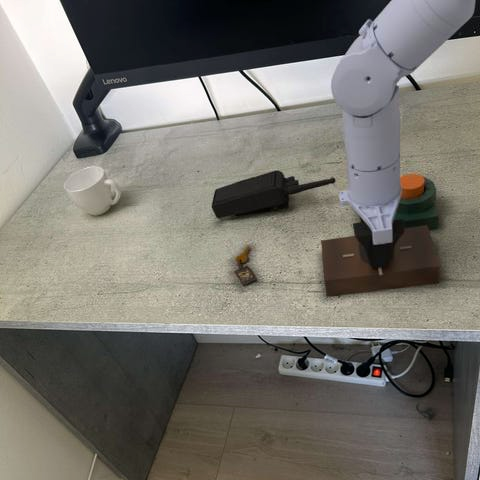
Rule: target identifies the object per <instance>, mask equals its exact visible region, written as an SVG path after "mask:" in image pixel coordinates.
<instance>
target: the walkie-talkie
mask: <svg viewBox="0 0 480 480" xmlns="http://www.w3.org/2000/svg"><path fill="white" fill-rule="evenodd" d="M335 183H336V178H335V177H330V178H326V179H321V180H316V181H312V182H307V183H301V184H300V183H299V180H298V179H296V178H295V176H294V175H292V176H287V177H286V176H285V174H284V172H283V171H280V170H279V169H278V170H272V171H269V172H266V173H262V174H259V175H256V176H252V177H249V178H245V179H242V180H240V181H236V182H233V183H230V184H227V185H224V186H221V187H218V188H216V189H215V190H214V191H213V192H214V193H213V197H212V202H211V209H212V212H213V214H214V215H215V218H216V219H223V218H226V217H228V218H229V217H232V216H234V217H235V218H237V217H238V218H239V217H246V216H253V215H260V214H261V215H262V214H267V213H273V212H277V211H283V210H286V209H289V207H290V196H293V195H296V194H299V193H302V192H305V191H308V190H313V189H316V188H320V187H325V186H329V185H333V184H335Z"/></svg>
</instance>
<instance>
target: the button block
mask: <svg viewBox="0 0 480 480" xmlns="http://www.w3.org/2000/svg"><path fill="white" fill-rule="evenodd" d="M422 177H423V178H424V180H425V183H424V193H423V194H422V195H421V196H419V197H416V198H410V199H407V198H401V199H400V202H399V205H398V208H397V211H396V214H395V217H394V220H399V219H403V220H404V223H405V228H411V227H418V226H424V225H427V226H428V229H429V230H436V229H438V228H439V221H440V220H439V218H440V216H439V212H438V209H437V206H436V204H435V201H436V197H437V188H436V185H435V182H434V181H432V180H431V179H429V178H428V177H426V176H422Z"/></svg>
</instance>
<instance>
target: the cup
mask: <svg viewBox="0 0 480 480" xmlns="http://www.w3.org/2000/svg"><path fill="white" fill-rule="evenodd" d="M63 188H64V190H65V192H66V194H67V195H68V197H69V199H70V200H71V201H72V203H73V204H74V205H75V206H76V207H77V208H79V209H80V210H81V211H83V212H85V213H87V214H89V215H90V216H95V217H97V216H100V215H103V214H105V213H106V212H108V211H109V210H110V208H111V206H113V205H116V204H117V203H118V201H119V200H120V199H121V196H122V189H121V186H120V185H119V184H118V183H117V182H116V181H115V180H113V179H109V178H108V175H107V173H106V172H105V170H104V168H102V167H100V166H88V167H84V168H81V169H79V170H77V171H75V172H74V173H72V174H71V175H69V176H68V178H66V180H65V181H64V184H63ZM112 188H113V190H114V191H115V197H114V199H113V197H112Z"/></svg>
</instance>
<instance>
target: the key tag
mask: <svg viewBox="0 0 480 480" xmlns="http://www.w3.org/2000/svg"><path fill="white" fill-rule="evenodd" d="M250 249H251V248H250V246H249V245H248V246H247V247H246V248H245V249H244V251H243V252H242V253H240V254H239V255H238V256H236V257H235V262H236V263H237V264H236V265H237V267H238V269H236V270H234V274H235V275H236V277H237V279H238V280H239V281H240V283H241V285H242V286H243V287H244V286H247V285H249V284H251V283H253V282H256V281H257V280H258V279H257V277H256V276H255V274H254V272H253V271H252V270H251V268H250V267H249V265H245V266H242V265H241V264H243V263H245V262H247V260H248V253H249V252H250Z"/></svg>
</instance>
